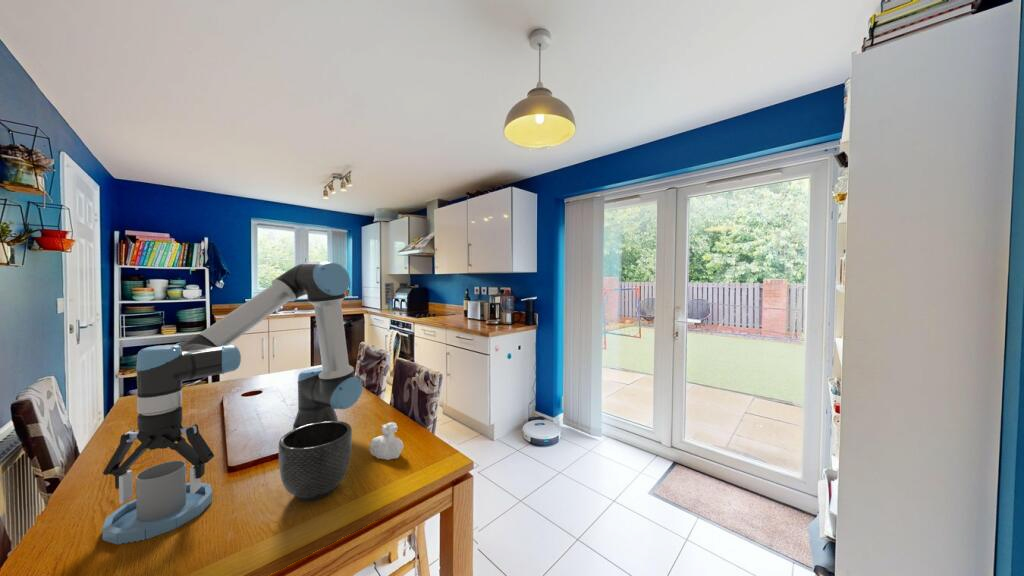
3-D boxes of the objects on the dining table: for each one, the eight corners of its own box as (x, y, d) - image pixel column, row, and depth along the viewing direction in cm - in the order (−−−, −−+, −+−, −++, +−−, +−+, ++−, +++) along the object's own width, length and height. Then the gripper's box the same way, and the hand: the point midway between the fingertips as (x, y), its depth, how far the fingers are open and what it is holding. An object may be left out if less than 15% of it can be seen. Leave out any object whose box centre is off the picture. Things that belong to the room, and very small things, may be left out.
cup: (153, 524, 76) (153, 482, 76) (126, 519, 78) (126, 477, 78) (195, 501, 84) (194, 462, 84) (170, 496, 86) (169, 458, 86)
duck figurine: (404, 463, 108) (415, 427, 115) (393, 459, 102) (405, 421, 109) (372, 459, 111) (384, 424, 117) (360, 454, 105) (373, 418, 111)
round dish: (226, 486, 92) (226, 477, 92) (181, 533, 75) (181, 523, 75) (144, 497, 87) (144, 488, 87) (77, 551, 70) (76, 540, 70)
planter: (299, 523, 78) (298, 456, 78) (266, 497, 88) (266, 438, 87) (364, 485, 93) (364, 429, 93) (330, 466, 102) (330, 415, 102)
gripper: (229, 399, 87) (230, 478, 88) (108, 408, 81) (109, 494, 81) (213, 410, 80) (214, 496, 81) (77, 421, 73) (79, 515, 74)
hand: (161, 495), depth 81 cm, fingers open, 13 cm apart
